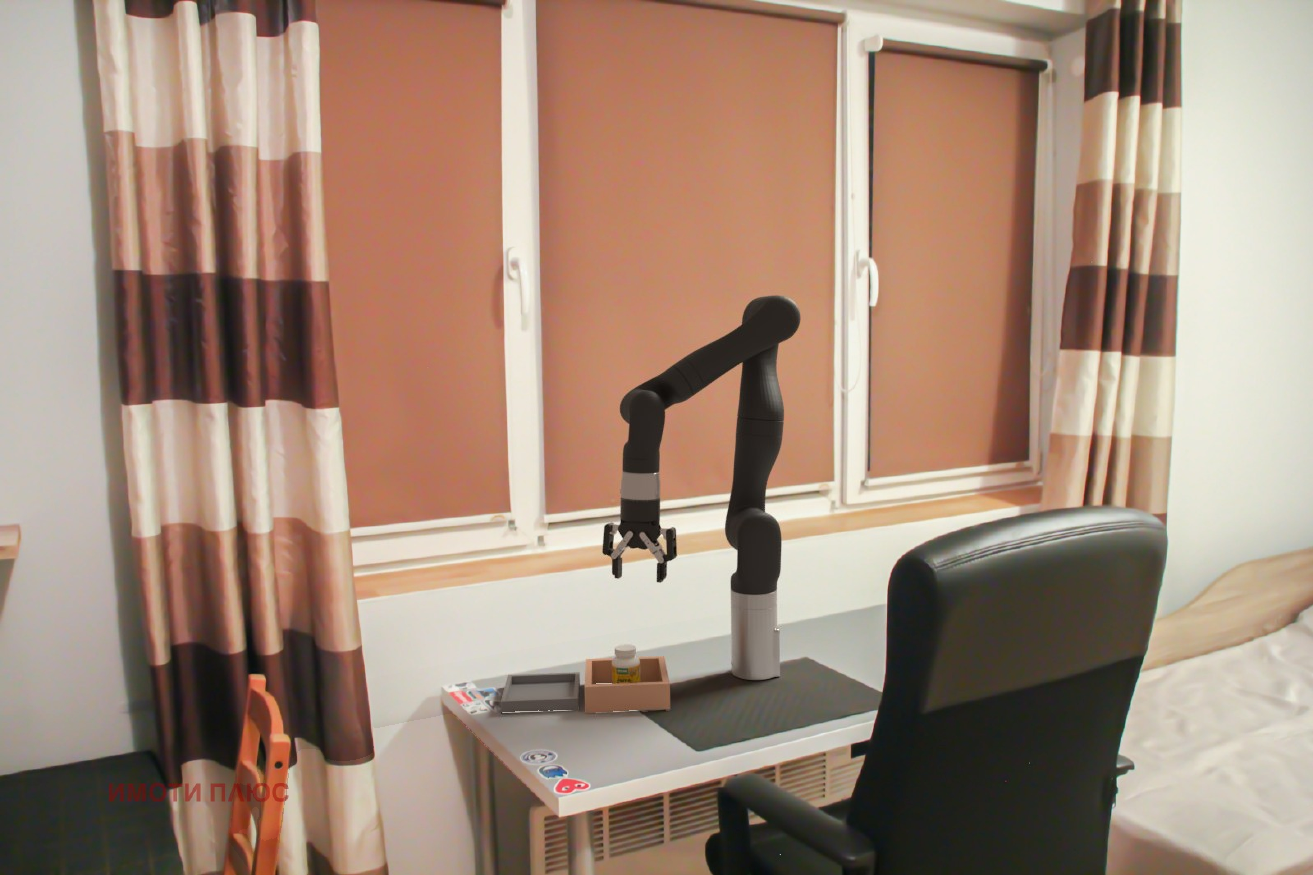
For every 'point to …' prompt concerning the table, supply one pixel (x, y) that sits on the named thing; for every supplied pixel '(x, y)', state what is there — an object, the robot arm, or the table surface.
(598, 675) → the box
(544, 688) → the tray
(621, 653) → the supplement bottle
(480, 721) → the table surface
